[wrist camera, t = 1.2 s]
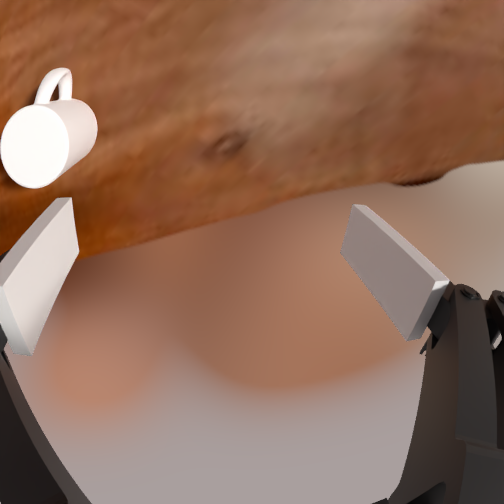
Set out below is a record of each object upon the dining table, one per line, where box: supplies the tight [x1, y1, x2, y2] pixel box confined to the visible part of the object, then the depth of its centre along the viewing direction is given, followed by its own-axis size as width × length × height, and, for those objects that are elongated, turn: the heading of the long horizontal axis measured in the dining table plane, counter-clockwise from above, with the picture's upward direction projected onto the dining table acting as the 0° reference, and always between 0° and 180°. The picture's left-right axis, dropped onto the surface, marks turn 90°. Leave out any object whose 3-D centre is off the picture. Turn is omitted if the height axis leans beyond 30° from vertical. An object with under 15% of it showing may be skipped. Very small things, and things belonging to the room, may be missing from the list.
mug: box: [0, 68, 97, 188], centre depth 26 cm, size 8×10×12 cm
